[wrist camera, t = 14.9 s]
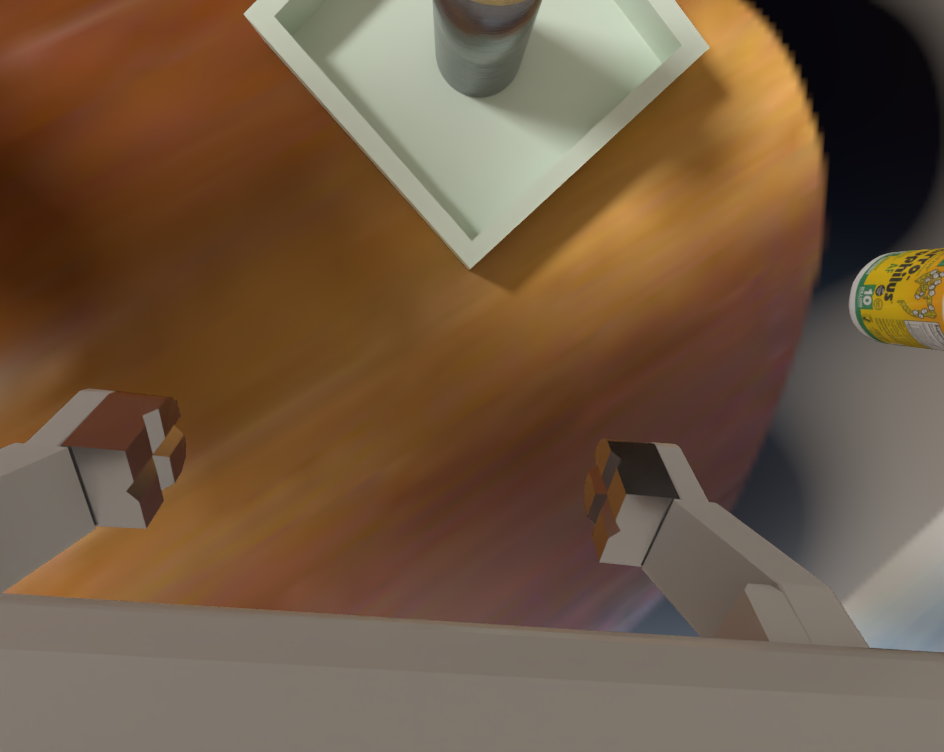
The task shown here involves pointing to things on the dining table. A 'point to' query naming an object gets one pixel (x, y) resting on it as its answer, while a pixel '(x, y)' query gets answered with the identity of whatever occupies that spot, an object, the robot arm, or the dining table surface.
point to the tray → (479, 99)
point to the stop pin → (482, 42)
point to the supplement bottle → (901, 299)
